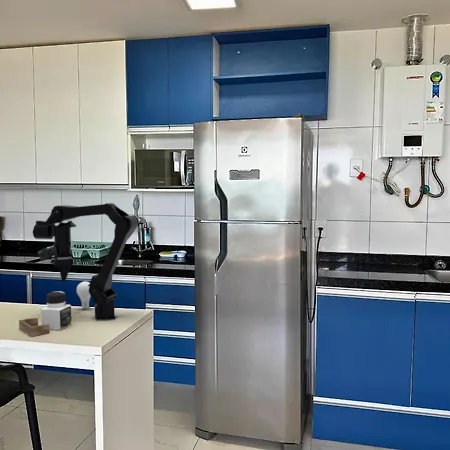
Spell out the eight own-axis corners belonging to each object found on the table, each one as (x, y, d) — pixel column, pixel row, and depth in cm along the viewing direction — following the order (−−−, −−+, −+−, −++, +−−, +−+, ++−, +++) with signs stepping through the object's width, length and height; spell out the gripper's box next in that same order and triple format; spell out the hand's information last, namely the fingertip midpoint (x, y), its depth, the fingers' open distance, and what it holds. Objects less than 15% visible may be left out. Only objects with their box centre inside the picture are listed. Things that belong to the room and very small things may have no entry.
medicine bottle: (60, 330, 158) (59, 295, 157) (41, 329, 159) (40, 294, 159) (71, 324, 165) (70, 290, 164) (53, 323, 166) (52, 289, 166)
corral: (37, 325, 164) (37, 317, 164) (49, 333, 155) (49, 324, 155) (19, 328, 160) (19, 320, 160) (30, 336, 151) (30, 327, 151)
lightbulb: (76, 308, 188) (75, 280, 188) (92, 306, 191) (92, 279, 190) (77, 311, 183) (77, 283, 182) (94, 310, 185) (94, 282, 184)
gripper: (39, 237, 180) (40, 278, 182) (38, 242, 163) (39, 287, 164) (70, 236, 184) (71, 276, 185) (72, 241, 167) (73, 285, 168)
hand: (63, 281), depth 176 cm, fingers closed
